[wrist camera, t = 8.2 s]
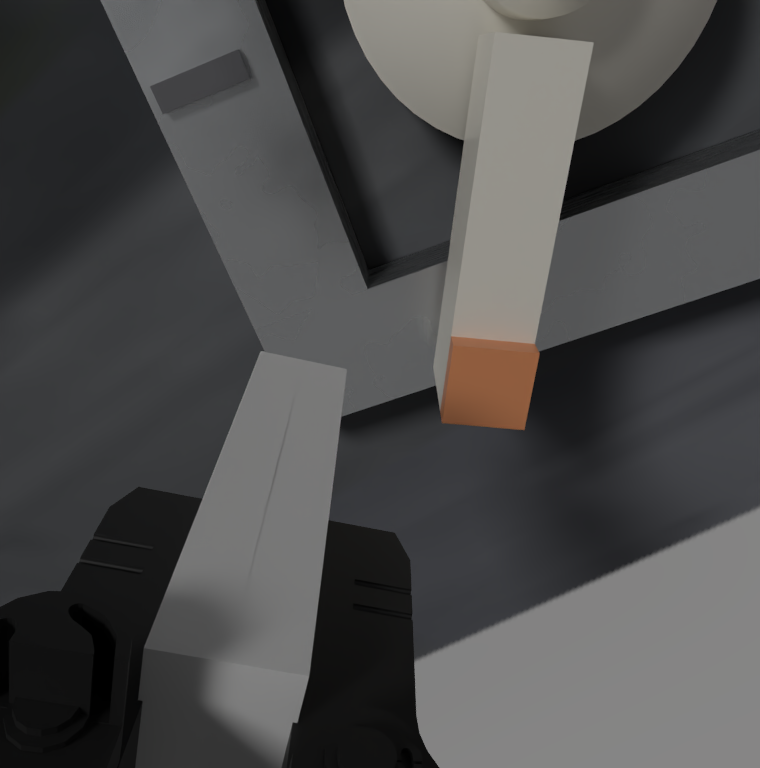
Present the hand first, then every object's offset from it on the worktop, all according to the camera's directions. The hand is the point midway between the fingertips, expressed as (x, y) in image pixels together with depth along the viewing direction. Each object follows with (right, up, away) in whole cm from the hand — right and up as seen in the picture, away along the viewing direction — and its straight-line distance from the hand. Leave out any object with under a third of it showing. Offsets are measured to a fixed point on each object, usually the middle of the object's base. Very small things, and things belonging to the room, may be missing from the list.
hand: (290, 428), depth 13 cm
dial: (+5, +9, +7) cm, 12 cm away
